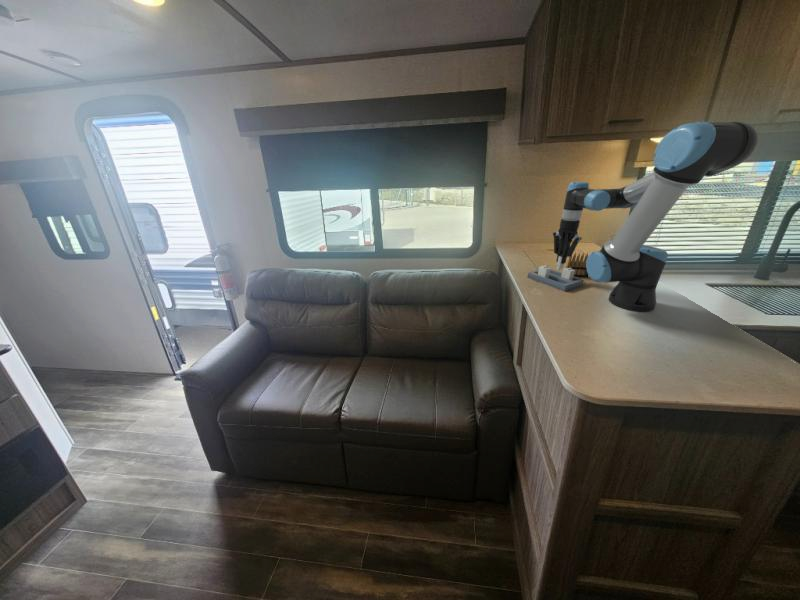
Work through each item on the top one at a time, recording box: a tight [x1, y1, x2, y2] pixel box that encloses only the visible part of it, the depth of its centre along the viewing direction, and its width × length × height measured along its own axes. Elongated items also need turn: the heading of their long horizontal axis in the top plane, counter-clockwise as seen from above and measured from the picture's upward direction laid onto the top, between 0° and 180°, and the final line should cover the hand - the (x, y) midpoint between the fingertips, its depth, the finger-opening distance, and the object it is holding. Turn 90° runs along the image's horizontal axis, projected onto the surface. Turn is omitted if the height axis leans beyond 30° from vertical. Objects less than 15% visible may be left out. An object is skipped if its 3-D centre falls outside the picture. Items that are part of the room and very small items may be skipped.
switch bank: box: [527, 268, 585, 292], centre depth 143 cm, size 20×13×3 cm, turn 28°
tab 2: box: [561, 267, 575, 280], centre depth 140 cm, size 4×3×6 cm
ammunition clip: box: [565, 252, 590, 278], centre depth 146 cm, size 11×2×12 cm, turn 79°
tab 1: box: [537, 265, 552, 278], centre depth 143 cm, size 4×3×6 cm
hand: (559, 269), depth 144 cm, fingers closed
